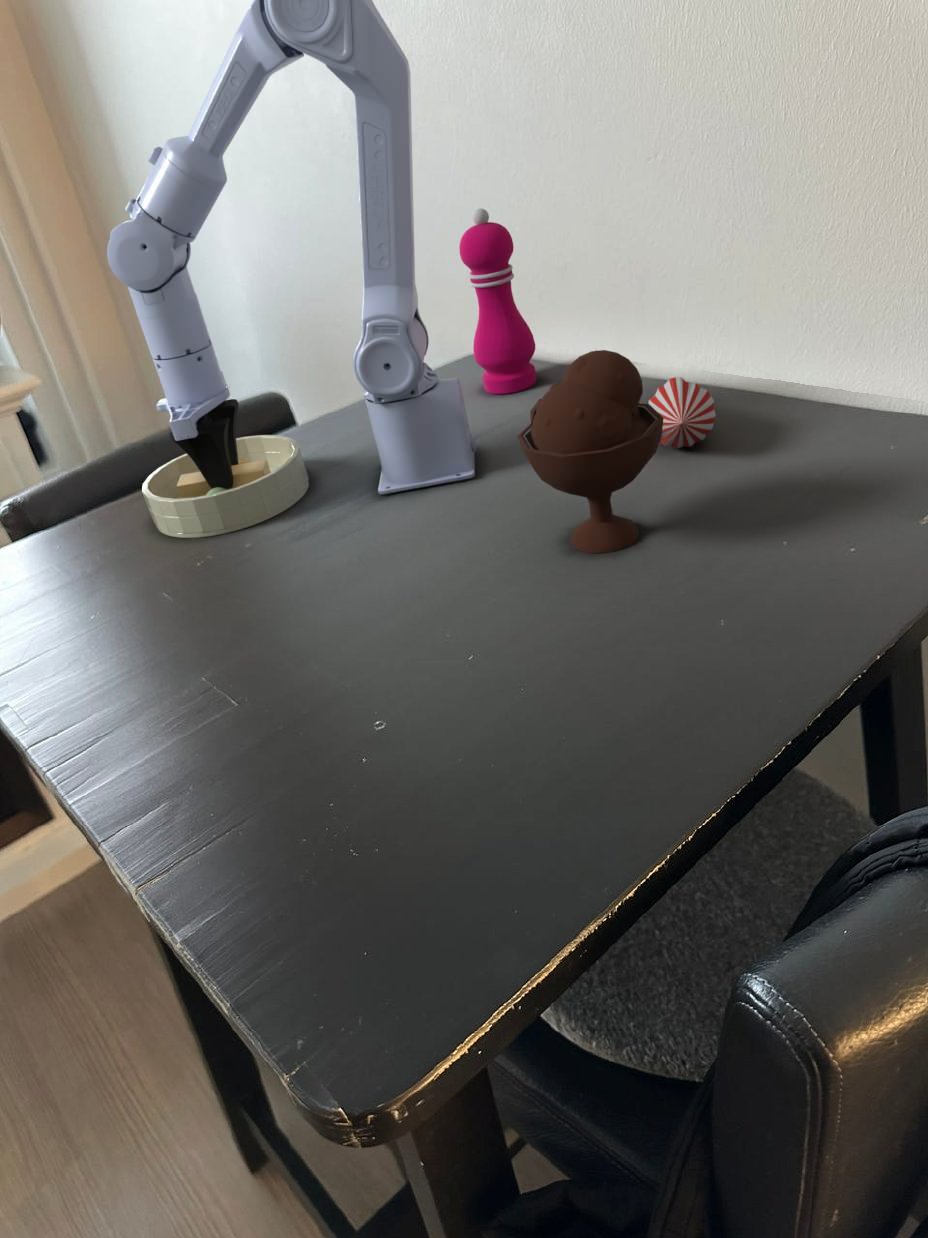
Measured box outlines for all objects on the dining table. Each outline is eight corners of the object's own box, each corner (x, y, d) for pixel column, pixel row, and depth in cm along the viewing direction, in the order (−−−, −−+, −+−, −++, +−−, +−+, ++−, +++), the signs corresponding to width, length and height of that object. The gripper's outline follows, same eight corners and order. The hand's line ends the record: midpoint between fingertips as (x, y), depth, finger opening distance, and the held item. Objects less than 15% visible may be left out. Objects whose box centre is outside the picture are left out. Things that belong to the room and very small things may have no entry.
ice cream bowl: (592, 499, 89) (568, 328, 82) (701, 521, 82) (684, 336, 74) (510, 552, 84) (476, 374, 76) (618, 581, 76) (592, 387, 69)
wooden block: (275, 484, 105) (266, 458, 104) (272, 496, 103) (263, 470, 102) (191, 499, 106) (181, 474, 104) (186, 511, 104) (176, 486, 102)
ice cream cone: (690, 440, 108) (698, 472, 89) (635, 414, 108) (632, 440, 89) (719, 385, 105) (734, 406, 87) (663, 358, 106) (666, 374, 87)
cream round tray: (318, 458, 112) (308, 424, 110) (297, 520, 98) (285, 482, 96) (177, 485, 114) (165, 451, 112) (136, 549, 100) (122, 512, 98)
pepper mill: (476, 399, 119) (441, 220, 109) (485, 379, 125) (452, 208, 115) (537, 391, 118) (507, 208, 108) (544, 371, 124) (515, 196, 114)
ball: (239, 503, 103) (229, 479, 102) (235, 518, 101) (225, 494, 99) (212, 508, 104) (202, 484, 102) (208, 523, 101) (198, 499, 100)
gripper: (161, 337, 104) (203, 462, 110) (119, 381, 91) (170, 518, 98) (228, 324, 103) (267, 450, 110) (195, 365, 90) (241, 505, 97)
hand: (226, 481), depth 104 cm, fingers closed on wooden block, 2 cm apart
